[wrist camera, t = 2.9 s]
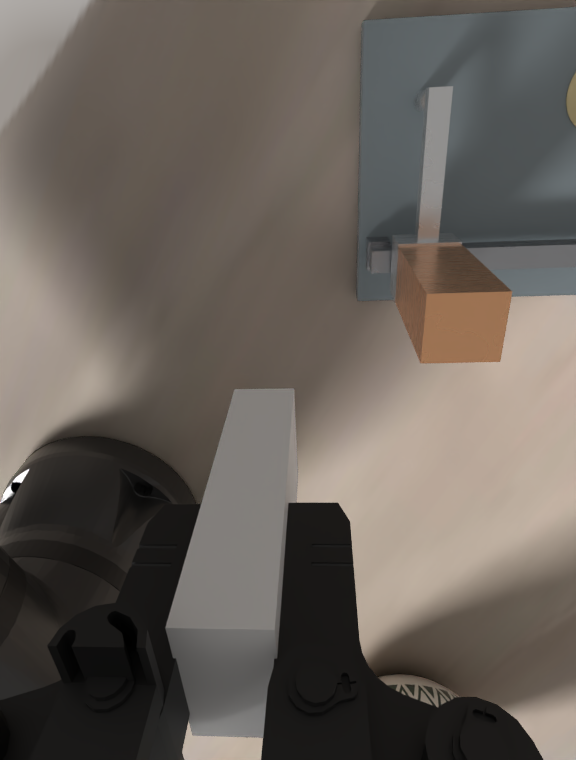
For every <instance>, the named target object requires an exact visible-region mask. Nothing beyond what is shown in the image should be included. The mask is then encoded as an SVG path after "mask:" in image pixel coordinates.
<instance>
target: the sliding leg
mask: <svg viewBox="0 0 576 760" xmlns="http://www.w3.org/2000/svg"><path fill="white" fill-rule="evenodd" d="M452 93H453V86H446V87H429V88H426V90H424V91H421V92H419V93H418V94H417V95H416V97H415V99H414V105H415V107H416V109H417V110H419V111H424V118H423V132H422V145H421V159H420V173H419V186H418V200H417V213H416V227H415V234H403V235H393V240H392V259H391V278H390V292H391V295H392V297H393V300H394V302H395V303H396V305H397V307H398V310H399V312H400V315H401V317H402V319H403V322H404V324H405V327H406V329H407V331H408V334H409V336H410V339H411V341H412V344H413V346H414V348H415V351H416V353H417V356H418V358H419V360H420V363H462V362H500V360H501V354H502V348H503V342H504V337H505V331H506V325H507V319H508V313H509V308H510V302H511V296H512V291H511V290H510V289H509V288H508V287H507V286H506V285H505V284H504V283H503V282H502V281H501V280H500V279H499V278H497V277H496V276H495V275H494V274H493V273H492V272H491V271H490V270H489V269H488V268H487V267H486V266H485V265H484V264H482V263H481V262H480V261H479V260H478V259H477V258H476V257H475V256H474V255H473V254H472V253H471V252H470V251H469V250H468V249H466V248H465V247H464V246H463V245H462V242H461V241H460V240H459V239H458V238H457V237H456V236H455V235H454V234H453V233H439V229H440V219H441V208H442V198H443V187H444V177H445V166H446V156H447V145H448V135H449V125H450V114H451V104H452Z"/></svg>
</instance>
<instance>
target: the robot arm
mask: <svg viewBox="0 0 576 760" xmlns="http://www.w3.org/2000/svg"><path fill="white" fill-rule="evenodd" d="M297 486H298V462H297V440H296V418H295V397H294V388H283V389H234V393H233V396H232V400H231V403H230V407H229V410H228V414H227V417H226V420H225V424H224V427H223V431H222V434H221V438H220V441H219V445H218V448H217V452H216V455H215V458H214V462H213V465H212V469H211V472H210V476H209V479H208V483H207V486H206V489H205V493H204V496H203V500H202V503H201V504H196V503H195V500H194V498H193V496H192V494H191V492H190V490H189V489H188V487H187V485H186V484H185V483H184V481H183V480H182V479H181V478H180V477H179V475H178V474H177V473H176V472H175V471H174V470H172V469H171V468H170V467H169V466H168V465H167V464H165V463H164V462H163V461H161V460H160V459H158V458H157V457H155V456H153V455H152V454H150V453H148V452H146V451H144V450H142V449H140V448H138V447H135V446H133V445H130V444H127V443H124V442H121V441H117V440H112V439H107V438H100V437H75V438H68V439H63V440H59V441H56V442H53V443H50V444H48V445H46V446H44V447H42V448H40V449H39V450H37V451H36V452H34V453H33V454H32V455H31V456H30V457H29V458H28V459H27V460H26V461H25V462H24V463H23V465H22V466H21V467H20V468H19V470H18V471H17V472H16V473H15V475H14V476H13V477H12V478H11V480H10V481H9V483H8V485H7V487H6V489H5V491H4V493H3V496H2V499H1V503H0V760H184V758H183V754H182V749H183V744H184V739H185V734H186V730H187V725H188V720H189V723H190V727H191V731H192V735H196V736H228V737H259V738H263V746H262V758H261V760H543V758H542V756H541V755H540V753H539V751H538V749H537V748H536V746H535V744H534V742H533V740H532V739H531V738H530V737H529V735H528V734H527V733H526V731H525V730H524V729H523V727H522V726H521V725H520V723H519V722H518V721H517V720H516V719H515V718H514V717H513V716H511V715H510V714H509V713H507V712H506V711H505V710H503V709H502V708H501V707H499V706H498V705H496V704H494V703H491V702H488V701H485V700H482V699H480V698H477V697H456V698H454V699H452V700H449V701H447V702H445V703H443V704H441V705H439V707H436V706H433V705H430V704H428V703H425V702H422V701H420V700H417V699H414V698H412V697H409V696H406V695H404V694H402V693H400V692H398V691H396V690H394V689H392V688H390V687H389V686H388V685H386V684H385V683H384V682H383V681H381V680H380V679H379V678H378V677H377V676H376V675H375V673H374V672H373V671H372V670H371V668H370V667H369V666H368V664H367V662H366V660H365V658H364V656H363V654H362V650H361V646H360V641H359V630H358V618H357V605H356V592H355V579H354V567H353V554H352V541H351V529H350V521H349V519H348V518H347V516H346V515H345V513H344V511H343V510H342V508H341V507H340V505H339V504H338V503H297Z"/></svg>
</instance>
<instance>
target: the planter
mask: <svg viewBox="0 0 576 760" xmlns="http://www.w3.org/2000/svg"><path fill="white" fill-rule="evenodd" d="M378 678H379V679H380V680H381V681H383V682H384V683H385V684H386V685H388V686H389V687H390V688H392V689H394V690H396V691H398V692H400V693H402V694H404V695H406V696H409V697H412V698H414V699H417V700H420V701H422V702H425V703H428V704H430V705H433V706H436V707H439V705H441V704H443V703H445V702H447V701H449V700H452V699H454V698H456V697H459V696H458V695H457V694H455V693H454V692H452V691H451V690H449V689H448V688H446V687H444V686H442V685H440V684H438V683H436V682H434V681H432V680H429V679H426V678H422V677H419V676H414V675H406V674H395V675H386V676H381V677H378Z"/></svg>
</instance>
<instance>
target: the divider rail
mask: <svg viewBox="0 0 576 760" xmlns="http://www.w3.org/2000/svg"><path fill="white" fill-rule="evenodd" d="M462 245H463V246H464V247H465V248H466V249H468V250H469V251H470V252H471V253H472V254H473V255H474V256H475V257H476V258H477V259H478V260H479V261H480V262H481V263H482V264H484V265H485V266H486V267H487V268H488V269H489V270H501V269H533V268H564V267H576V239H555V240H527V241H498V242H469V243H462ZM391 259H392V245H390V240H389V239H388V237H366V261H365V265H366V268H367V271H371V274H374V273H391Z"/></svg>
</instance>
